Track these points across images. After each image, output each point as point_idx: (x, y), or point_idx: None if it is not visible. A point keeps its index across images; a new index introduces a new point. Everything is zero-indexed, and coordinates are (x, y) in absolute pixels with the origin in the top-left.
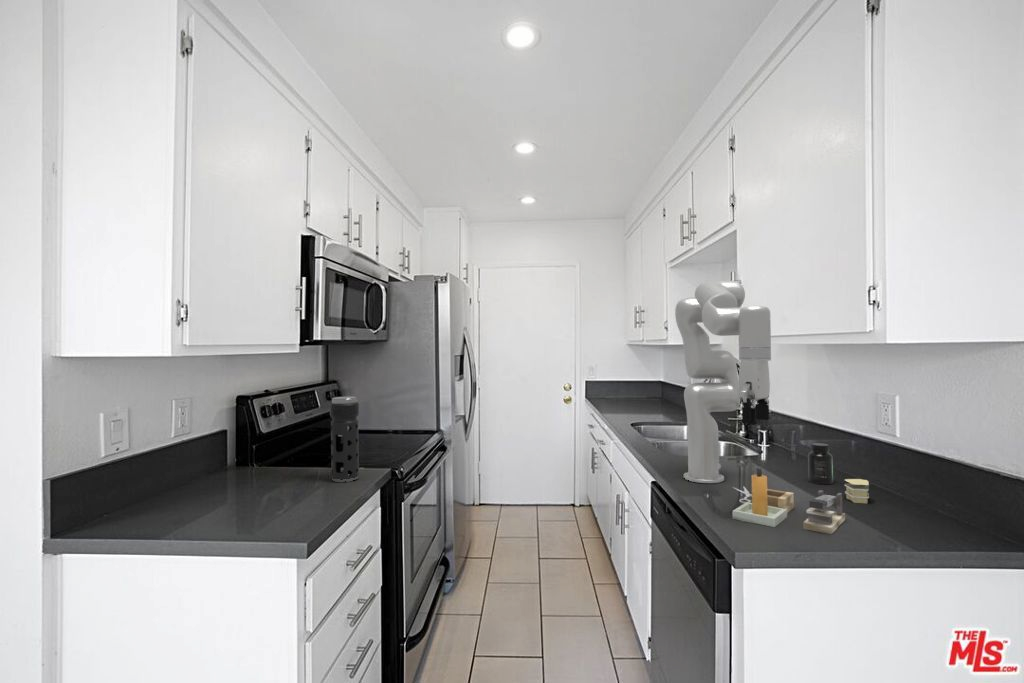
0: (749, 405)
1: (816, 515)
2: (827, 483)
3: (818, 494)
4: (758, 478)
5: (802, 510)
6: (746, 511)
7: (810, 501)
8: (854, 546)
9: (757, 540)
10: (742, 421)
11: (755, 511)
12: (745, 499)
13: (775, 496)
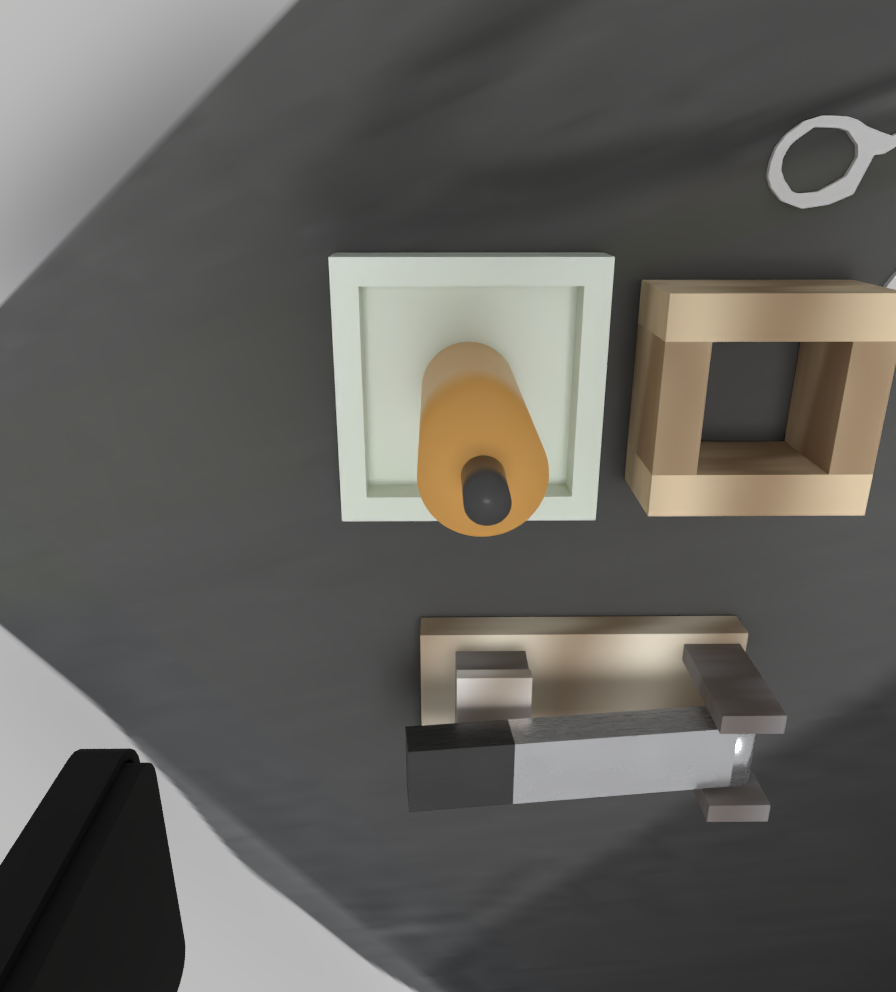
0: None
1: (456, 711)
2: None
3: (717, 711)
4: (418, 487)
5: (786, 529)
6: (505, 287)
7: (409, 754)
8: (318, 821)
9: (64, 501)
10: (62, 772)
11: (422, 384)
12: (860, 151)
13: (694, 448)
